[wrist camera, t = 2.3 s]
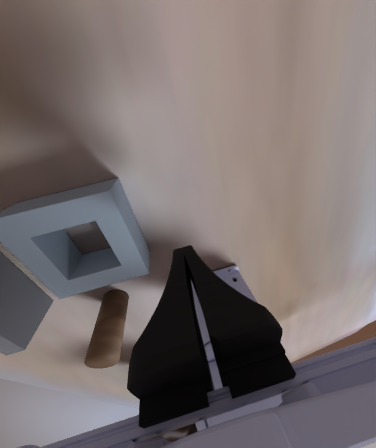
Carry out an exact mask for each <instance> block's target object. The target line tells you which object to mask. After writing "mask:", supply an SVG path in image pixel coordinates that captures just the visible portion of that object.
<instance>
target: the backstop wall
mask: <svg viewBox="0 0 376 448" xmlns="http://www.w3.org/2000/svg"><path fill="white" fill-rule="evenodd" d="M52 302H53V300H52V299H51V298H50V297H49V296H48V295H47V294H46V293H44V292H43V291H42V290H41V289H40V288H39V287H38V286H37V285H36V284H35V283H34V282H32V281H31V280H30V279H29V278H28V277H27V276H26V275H25V274H24V273H23V272H22V271H21V270H19V269H18V268H17V267H16V266H15V265H14V264H13V263H12V262H11V261H10V260H9V259H8V258H6V257H5V256H4V255H3V254H2V253H1V252H0V352H1V353H3V354H5V355H9V354H13V353H16V352H19V351H23V350H25V349H26V347H27V345H28V344H29V342H30V340H31V339H32V337H33V335H34V333H35V332H36V330H37V328H38V327H39V325H40V323H41V321H42V320H43V318H44V316H45V314H46V313H47V311H48V309H49V308H50V306H51V304H52Z"/></svg>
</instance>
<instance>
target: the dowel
mask: <svg viewBox="0 0 376 448" xmlns="http://www.w3.org/2000/svg"><path fill="white" fill-rule="evenodd" d="M128 299H129V296H128V294H127V293H126V292H124V291H122V290H112V291H109V292H107V293H106V294H105V295H104V297H103V301H102V304H101V307H100V311H99V314H98V318H97V321H96V324H95V328H94V331H93V334H92V338H91V341H90V345H89V348H88V351H87V355H86V358H85V362H84V363H85V365H86V366H88V367H90V368H107V367H110V366H113V365H115V364H117V363H118V362H119V360H120V354H121V347H122V340H123V333H124V326H125V320H126V313H127V306H128Z"/></svg>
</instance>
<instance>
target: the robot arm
mask: <svg viewBox="0 0 376 448" xmlns="http://www.w3.org/2000/svg"><path fill="white" fill-rule="evenodd" d="M281 337H282V328H281V326H280V324H279V323H278V322H277V320H276V319H275V318H274V316H273V315H272V314H271V313H270V312H269V311H268V310H267V309H266V307H264V306H262V305H260V304H258V303H257V301H256V299H255V298H254V296H253V294H252V293H251V291H250V289H249V288H248V286H247V284H246V283H245V281H244V279H243V278H242V276H241V274H240V273H239V271H238V267H237V265H234V266H231V267H227V268H224V269H220V270H217V271H212V270H211V269H210V268H209V267H208V266H207V265H206V264H205V263H204V262H203V261H202V260H201V258H200V257H199V256H198V255H197V253H196V252H195V250H194V249H193V247H192V246H191V245H190V246H186V247H182V248H179V249H175V250H174V251H173V260H172V265H171V270H170V274H169V277H168V280H167V284H166V287H165V289H164V292H163V294H162V297H161V299H160V301H159V304H158V306H157V308H156V310H155V312H154V314H153V316H152V317H151V319H150V321H149V323H148V325H147V326H146V328H145V330H144V331H143V333H142V334H141V336H140V338H139V339H138V341H137V342H136V344H135V345H134V347H133V350H132V355H131V359H130V364H129V372H128V383H127V389H128V390H129V391H130V392H131V393H132V394H133V395H134V396H136V397H137V398H138V399H140V407H139V415H137V416H135V417H131V418H128V419H125V420H122V421H119V422H116V423H113V424H110V425H107V426H104V427H101V428H98V429H95V430H92V431H89V432H85V433H82V434H80V435H76V436H73V437H71V438H67V439H64V440H61V441H58V442H55V443H52V444H49V445H46V446H43V447H39V446H36V445H25V446H21V447H18V448H360V447H363V446H366V445H368V444H371V443H374V442H376V337H375V338H372V339H369V340H365V341H362V342H359V343H356V344H353V345H350V346H347V347H344V348H341V349H338V350H335V351H332V352H329V353H326V354H323V355H320V356H317V357H314V358H311V359H308V360H305V361H302V362H299V363H296V364H292V365H291V363H290V362H289V360H288V358H287V357H286V355H285V349H284V348H283V346H282V344H281V343H280V341H281ZM193 423H195V424H196V427H197V430H198V432H196V433H193V434H191V435H188V436H186V437H183V438H181V439H178V440H176V441H174V442H170V441H166V440H165V439H164V437H163V436H162V437H157V438H152V437H155V436H158V435H161V434H164V433H167V432H170V431H173V430H176V429H178V428H181V427H184V426H187V425H190V424H193ZM149 438H152V439H149ZM146 439H147V440H146Z"/></svg>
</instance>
